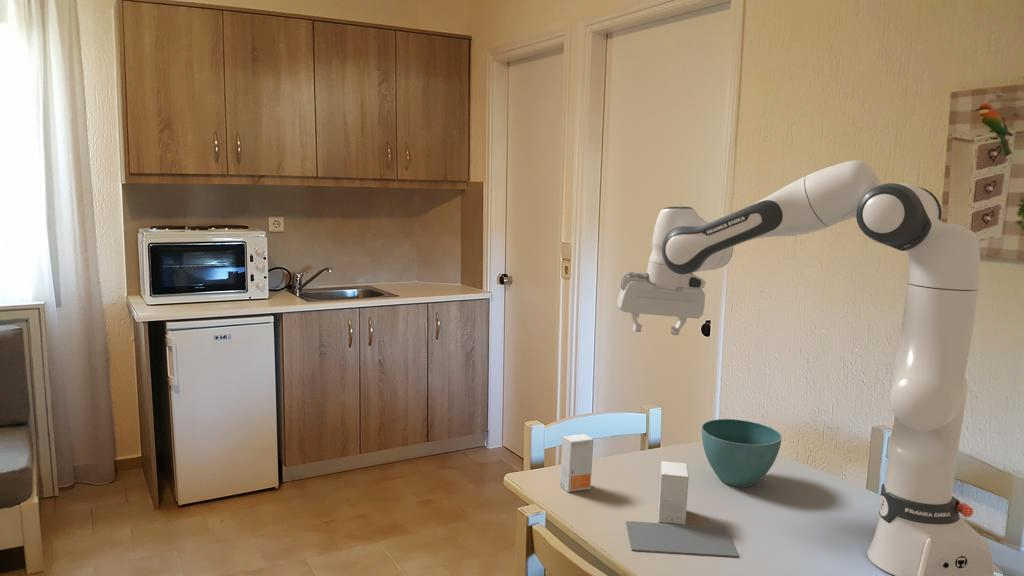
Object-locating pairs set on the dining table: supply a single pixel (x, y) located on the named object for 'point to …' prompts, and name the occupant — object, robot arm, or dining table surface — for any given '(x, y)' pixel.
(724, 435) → the teal bowl
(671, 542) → the mat
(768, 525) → the dining table surface
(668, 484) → the small box
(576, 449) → the skincare box
